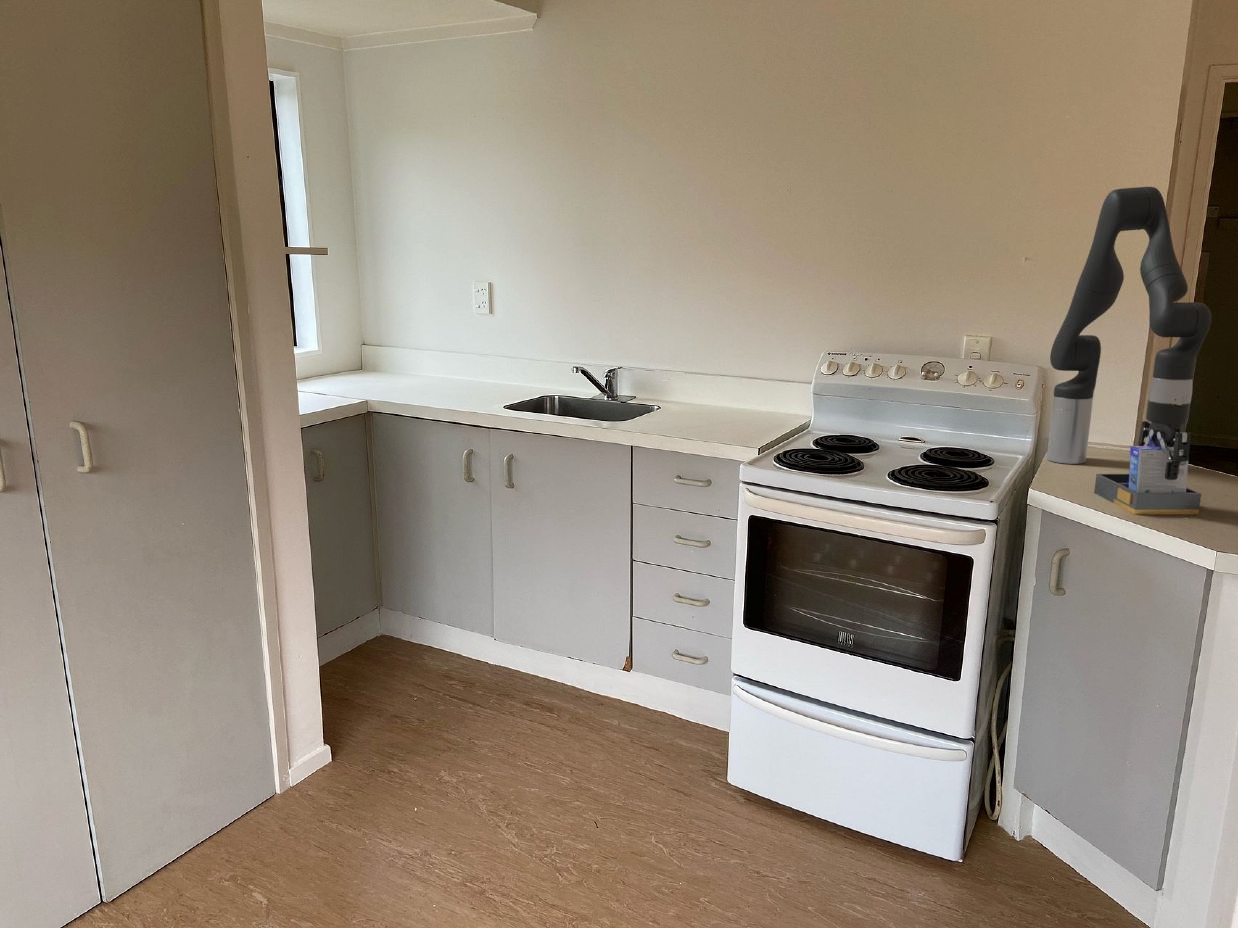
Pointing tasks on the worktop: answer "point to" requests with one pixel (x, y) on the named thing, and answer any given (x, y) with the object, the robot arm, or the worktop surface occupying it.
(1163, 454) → the ink cartridge box
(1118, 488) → the tray
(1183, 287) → the robot arm
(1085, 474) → the worktop surface
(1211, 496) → the worktop surface
